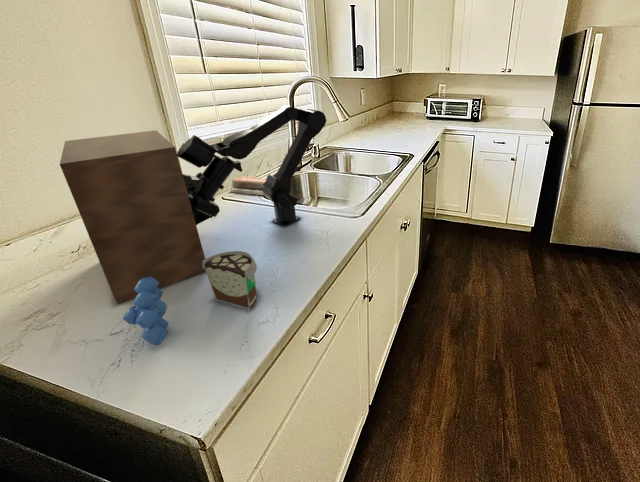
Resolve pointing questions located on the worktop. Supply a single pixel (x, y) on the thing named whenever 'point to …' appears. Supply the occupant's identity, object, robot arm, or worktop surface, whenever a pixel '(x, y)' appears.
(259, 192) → the packaged product
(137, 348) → the worktop surface
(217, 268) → the food container
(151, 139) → the cupboard
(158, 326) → the grapes
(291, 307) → the worktop surface
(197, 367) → the worktop surface
